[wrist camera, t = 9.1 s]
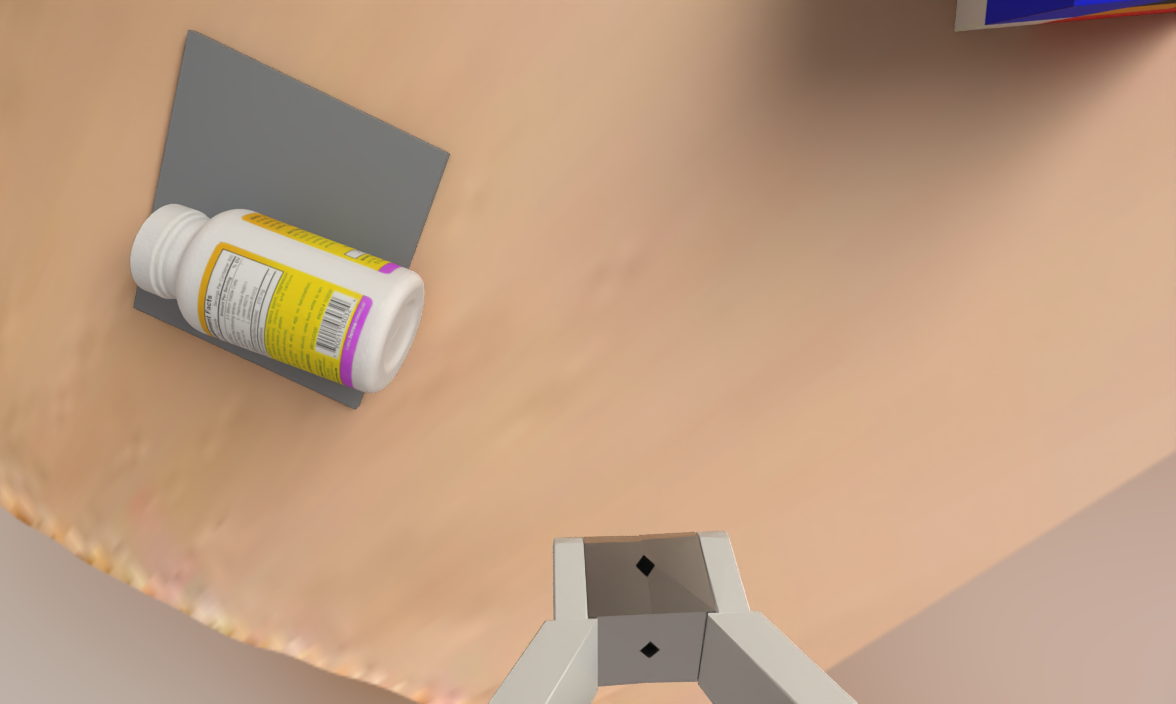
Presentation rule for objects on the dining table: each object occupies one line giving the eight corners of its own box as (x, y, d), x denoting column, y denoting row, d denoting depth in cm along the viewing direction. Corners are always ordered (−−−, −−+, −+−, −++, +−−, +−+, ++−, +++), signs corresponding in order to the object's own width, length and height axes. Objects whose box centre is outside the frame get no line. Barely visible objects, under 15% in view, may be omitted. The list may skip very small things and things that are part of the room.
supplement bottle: (428, 325, 40) (217, 245, 39) (432, 249, 34) (187, 155, 34) (374, 421, 36) (140, 332, 36) (368, 352, 30) (93, 247, 30)
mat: (450, 153, 35) (447, 154, 35) (359, 405, 41) (355, 409, 41) (194, 30, 35) (188, 29, 34) (139, 305, 40) (133, 307, 40)
